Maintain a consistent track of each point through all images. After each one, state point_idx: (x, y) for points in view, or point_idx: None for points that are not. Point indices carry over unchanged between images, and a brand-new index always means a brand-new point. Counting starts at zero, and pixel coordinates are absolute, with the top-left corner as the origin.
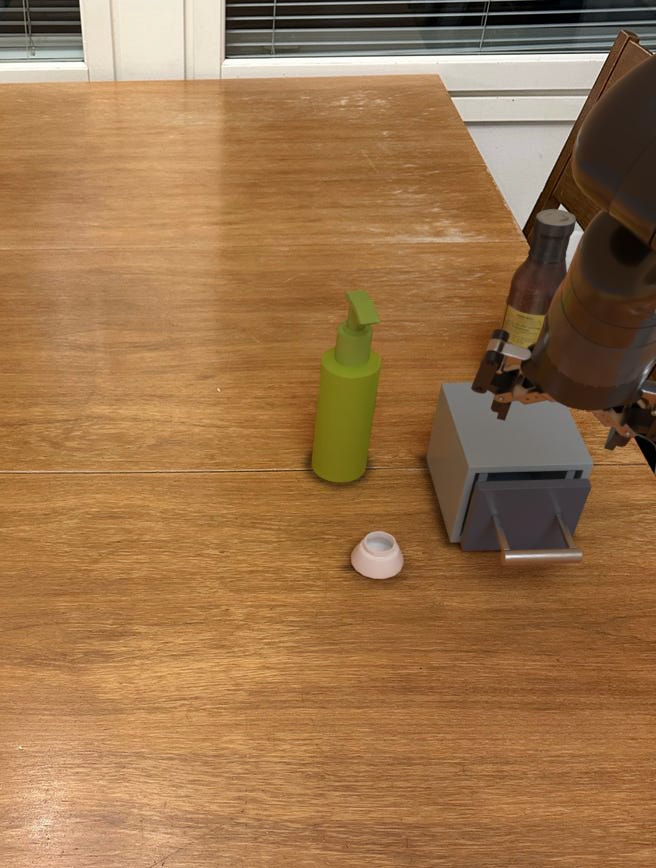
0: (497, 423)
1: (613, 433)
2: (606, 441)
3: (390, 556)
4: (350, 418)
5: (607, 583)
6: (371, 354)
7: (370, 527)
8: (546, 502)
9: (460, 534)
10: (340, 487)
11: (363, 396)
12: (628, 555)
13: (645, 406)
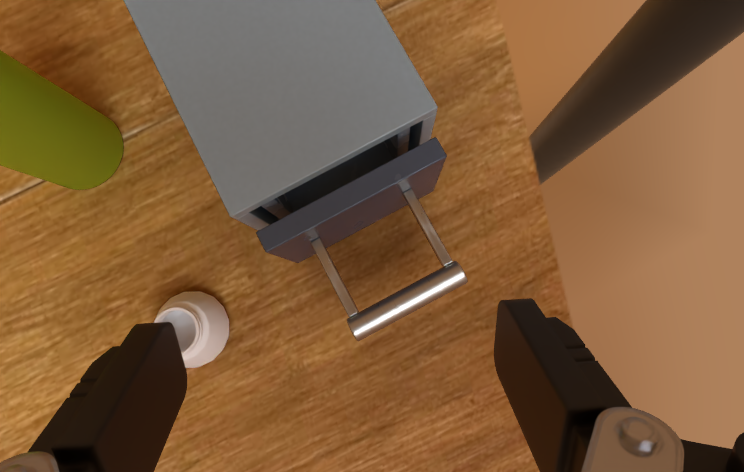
0: (247, 68)
1: (539, 458)
2: (498, 352)
3: (201, 343)
4: (3, 148)
5: (497, 224)
6: None
7: (166, 258)
8: (383, 197)
9: None
10: (101, 194)
11: None
12: (509, 156)
13: (680, 445)
